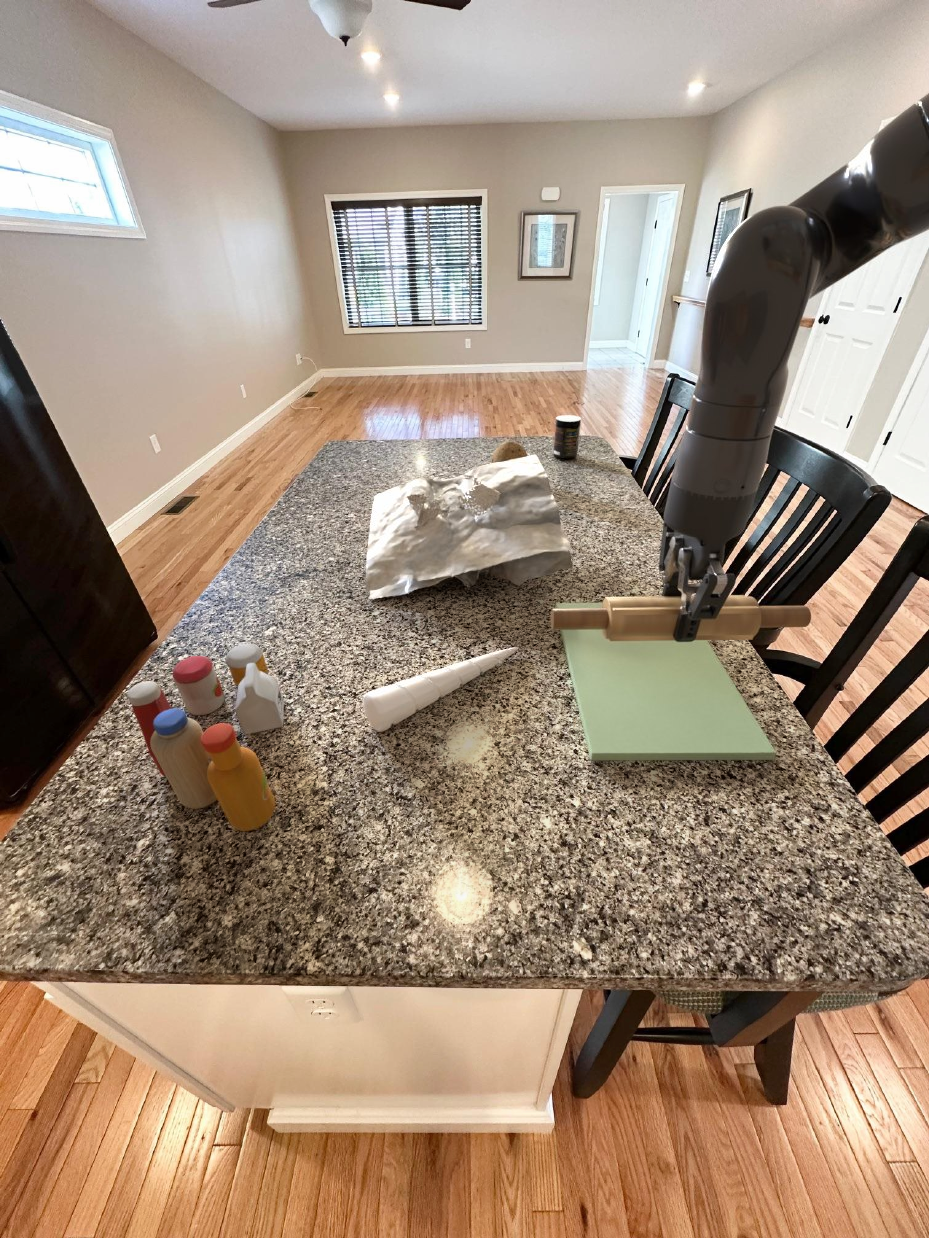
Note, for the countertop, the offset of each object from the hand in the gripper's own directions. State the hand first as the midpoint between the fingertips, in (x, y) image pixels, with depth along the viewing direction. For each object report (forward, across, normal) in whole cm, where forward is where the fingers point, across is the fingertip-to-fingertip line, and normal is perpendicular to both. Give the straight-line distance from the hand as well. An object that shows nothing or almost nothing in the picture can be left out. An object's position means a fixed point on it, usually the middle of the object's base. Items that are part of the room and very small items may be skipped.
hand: (675, 625), depth 58 cm
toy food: (+12, -7, +52) cm, 54 cm away
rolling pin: (+1, 0, 0) cm, 1 cm away
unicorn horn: (+12, +2, +27) cm, 29 cm away
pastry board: (+11, +5, 0) cm, 13 cm away
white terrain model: (+12, +39, +25) cm, 48 cm away
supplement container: (+12, +96, -3) cm, 96 cm away
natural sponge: (+12, +78, +14) cm, 80 cm away
